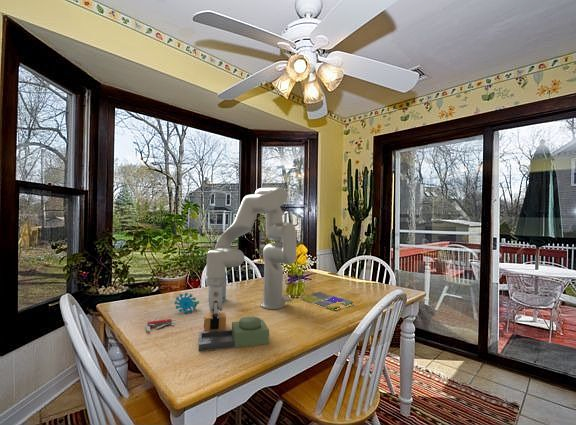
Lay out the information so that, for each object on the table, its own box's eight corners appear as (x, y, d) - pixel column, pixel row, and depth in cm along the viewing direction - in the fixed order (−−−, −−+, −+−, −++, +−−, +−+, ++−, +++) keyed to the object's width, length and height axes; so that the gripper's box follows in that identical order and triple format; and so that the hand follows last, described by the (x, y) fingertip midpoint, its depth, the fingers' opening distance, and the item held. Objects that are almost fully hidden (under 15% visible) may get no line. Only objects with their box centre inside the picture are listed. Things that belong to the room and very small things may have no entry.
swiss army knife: (175, 317, 126) (175, 313, 126) (179, 329, 114) (179, 324, 114) (145, 321, 120) (145, 316, 120) (147, 334, 108) (147, 329, 108)
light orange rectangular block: (224, 324, 120) (225, 312, 120) (225, 329, 115) (226, 317, 115) (204, 325, 118) (204, 313, 118) (203, 331, 112) (204, 318, 112)
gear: (174, 311, 128) (175, 291, 135) (171, 318, 131) (173, 298, 138) (199, 312, 133) (199, 292, 140) (196, 318, 136) (196, 299, 143)
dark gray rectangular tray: (231, 335, 110) (231, 329, 110) (234, 347, 100) (235, 340, 100) (198, 338, 106) (198, 332, 106) (198, 351, 96) (198, 344, 96)
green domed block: (262, 332, 113) (263, 314, 113) (268, 343, 104) (269, 324, 104) (231, 335, 110) (232, 316, 110) (234, 347, 100) (235, 327, 100)
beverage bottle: (222, 302, 148) (223, 263, 148) (206, 301, 149) (208, 262, 149) (228, 298, 156) (229, 261, 156) (213, 296, 158) (214, 260, 158)
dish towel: (333, 312, 140) (333, 307, 140) (299, 300, 159) (299, 295, 159) (355, 306, 152) (355, 301, 152) (321, 295, 170) (321, 290, 170)
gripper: (227, 285, 109) (225, 333, 109) (223, 276, 126) (221, 317, 126) (206, 286, 107) (204, 335, 107) (205, 276, 123) (203, 318, 123)
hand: (213, 325), depth 116 cm, fingers closed on light orange rectangular block, 6 cm apart
